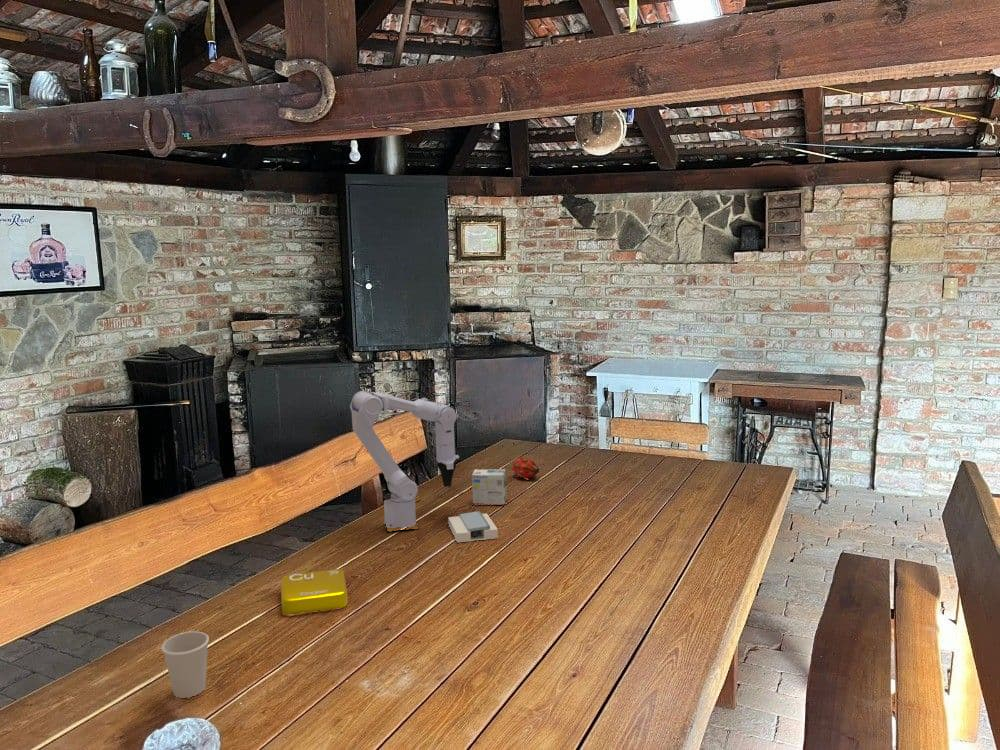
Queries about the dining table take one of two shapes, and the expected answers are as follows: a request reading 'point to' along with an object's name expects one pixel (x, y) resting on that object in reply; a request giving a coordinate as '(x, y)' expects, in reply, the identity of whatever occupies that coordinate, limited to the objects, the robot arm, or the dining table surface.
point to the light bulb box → (489, 486)
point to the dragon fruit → (524, 468)
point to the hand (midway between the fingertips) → (447, 485)
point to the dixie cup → (187, 662)
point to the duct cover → (474, 521)
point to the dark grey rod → (474, 533)
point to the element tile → (313, 591)
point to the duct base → (463, 534)
